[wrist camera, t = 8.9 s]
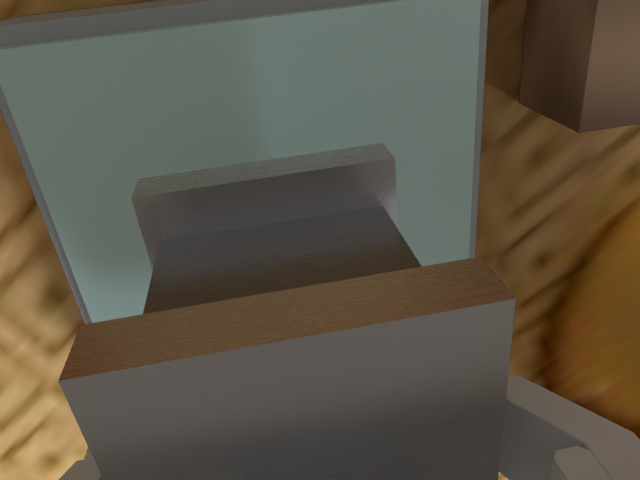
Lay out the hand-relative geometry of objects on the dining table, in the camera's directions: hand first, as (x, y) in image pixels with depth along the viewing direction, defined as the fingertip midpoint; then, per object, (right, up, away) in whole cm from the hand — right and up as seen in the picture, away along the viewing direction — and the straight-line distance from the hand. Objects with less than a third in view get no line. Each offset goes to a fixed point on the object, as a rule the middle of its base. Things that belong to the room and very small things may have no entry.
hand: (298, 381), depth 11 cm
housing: (0, +1, +2) cm, 2 cm away
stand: (-2, +5, +9) cm, 11 cm away
